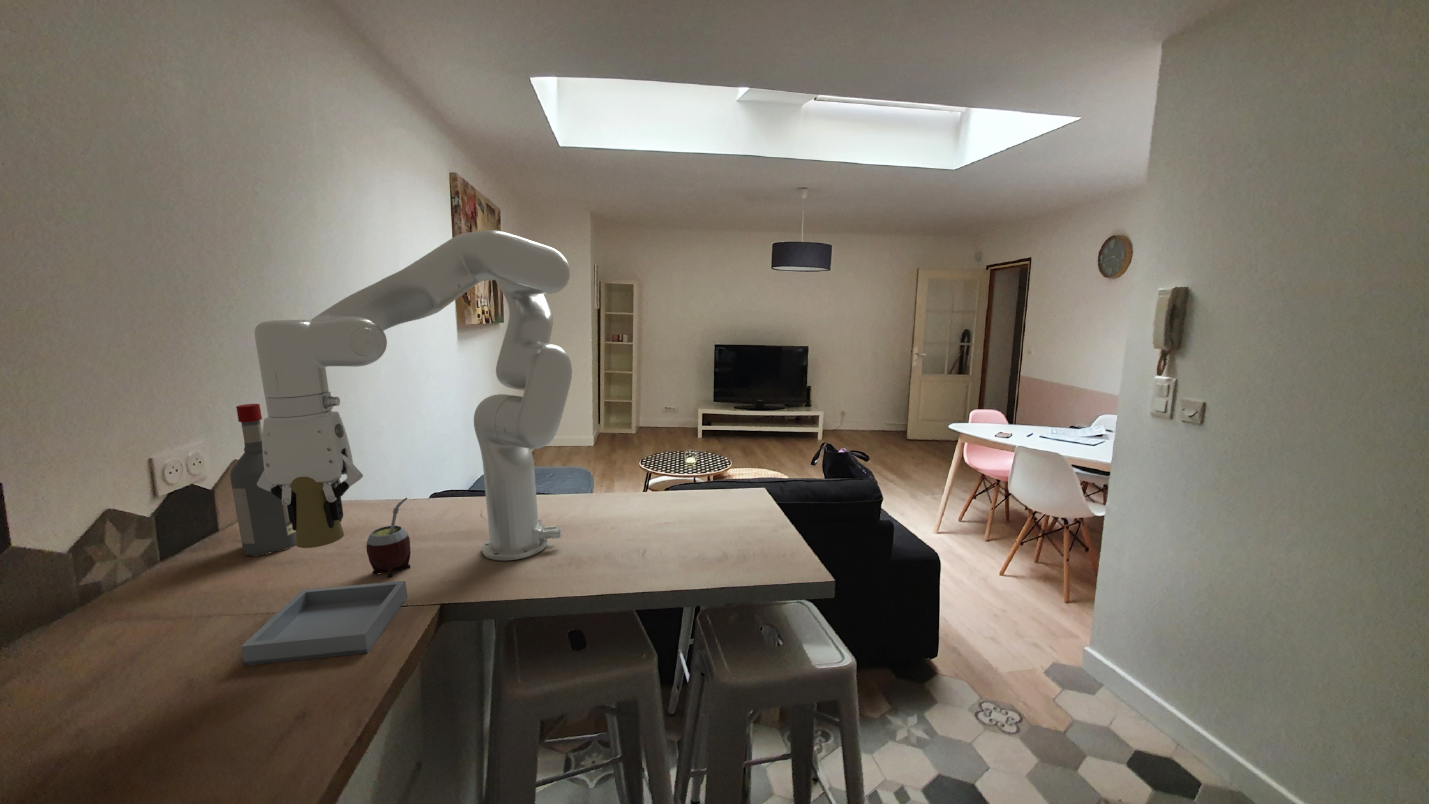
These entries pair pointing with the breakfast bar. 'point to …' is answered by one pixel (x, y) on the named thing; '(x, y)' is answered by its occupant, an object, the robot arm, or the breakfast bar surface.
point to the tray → (326, 623)
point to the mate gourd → (389, 548)
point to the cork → (313, 515)
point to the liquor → (257, 494)
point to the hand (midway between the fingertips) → (317, 524)
